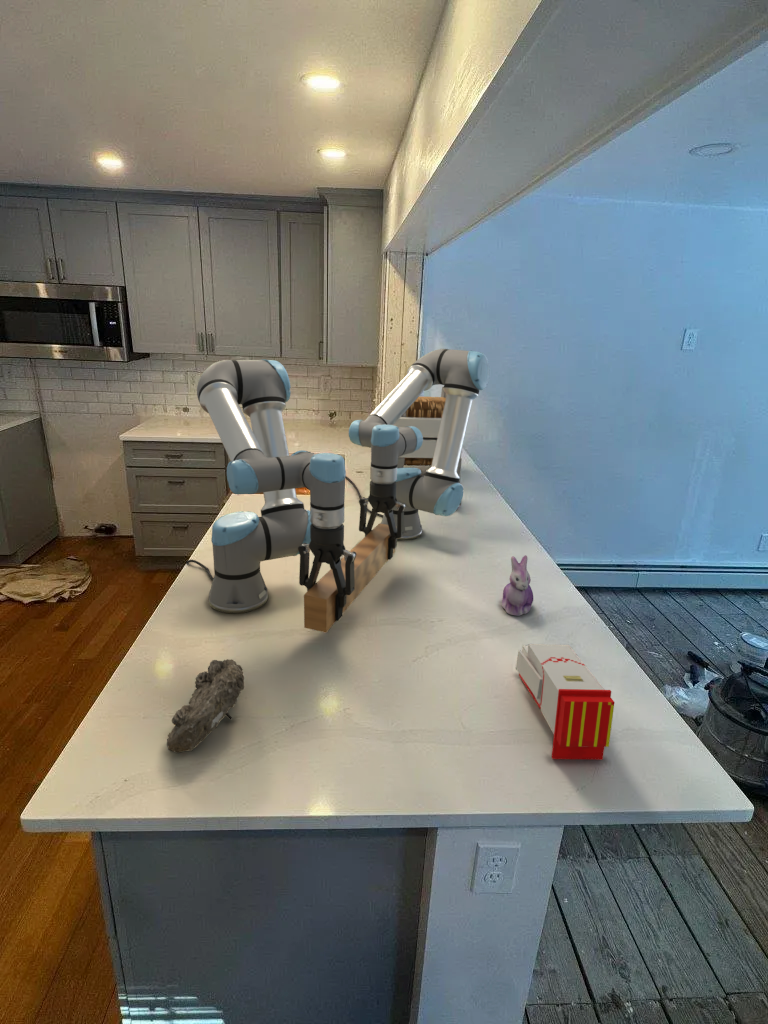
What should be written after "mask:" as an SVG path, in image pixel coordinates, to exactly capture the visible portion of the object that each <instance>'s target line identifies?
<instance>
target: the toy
mask: <svg viewBox="0 0 768 1024" xmlns="http://www.w3.org/2000/svg"><path fill="white" fill-rule="evenodd" d="M521 649H522V650H520V649H518V651H517V658H516V664H515V670H516V671H517V672H518V677H519V678H520V680H521V681H522V683H523V685H524V686H525V688H526V689H527V691H528V692H529V694H530V695H531V698H533V700H534V702H535V703H536V705H537V707H538V708H539V709H540V712H541V714H542V716H543V718H544V719H545V721H546V723H547V725H548V727H549V728H550V730H551V732H552V735H553V738H552V739H553V741H552V750H551V759H552V760H597V761H598V760H604V754H605V753H604V752H605V748H609V747H610V742H611V734H612V726H613V725H612V724H613V718H614V710H615V701H614V700H613V698H612V690H611V689H605V688H604V687H603V686H602V684H601V683H600V682H599V681H598V679H597V678H596V677H595V676H594V674H593V673H592V672H591V670H590V669H589V668H588V667H587V665H586V664H585V663H584V662H583V660H582V659H581V658H580V657H579V656H578V654H577V653H576V652H575V650H574V649H573V648H572V647H571V646H570V644H548V643H547V644H545V643H544V644H543V643H541V644H540V643H528V644H522V648H521Z"/></svg>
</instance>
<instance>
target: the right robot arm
mask: <svg viewBox="0 0 768 1024" xmlns="http://www.w3.org/2000/svg"><path fill="white" fill-rule="evenodd" d="M490 369H491V368H490V363H489V360H488V357H487V356H486V354H485V353H483V352H479V351H473V350H464V349H450V348H449V349H448V348H439V349H435V350H432V351H430V352H427V353H426V354H424V355H423V356H421V357H420V358H418V359H416V360H415V361H414V362H413V363H412V364H411V365H410V366H409V367H408V369H407V371H406V375H405V376H404V378H402V380H401V381H399V382H398V384H397V385H396V386H395V387H394V388H393V389H392V390H391V391H390V393H388V394H387V396H386V397H384V399H383V400H382V401H381V402H380V403H379V404H378V406H376V408H375V409H374V410H373V411H372V412H371V413H370V414H369V415H368V416H367V418H365V419H356V420H353V421H352V422H351V424H350V425H349V429H348V439H349V440H350V442H351V443H352V444H354V445H357V446H360V447H364V448H370V469H369V470H370V473H369V480H370V481H369V495H368V497H365V496H364V497H362V495H361V493H360V490H359V488H358V487H357V485H356V484H355V483H354V481H352V480H351V479H350V478H349V477H348V476H346V477H345V480H348V481H349V482H350V483H351V484H352V486H353V487H354V489H355V490H356V493H357V494H358V497H359V500H358V503H359V507H360V508H359V509H360V510H359V523H358V531H359V532H360V533H361V532H362V533H364V537H365V536H366V535H368V534H369V533H370V532H371V531H372V530H373V528H374V524H375V521H376V518H377V516H379V517H382V519H381V522H379V523H380V524H386V525H388V526H389V531H390V535H391V537H390V538H389V539H388V561H390V560H391V559H392V558H394V554H393V549H395V550H396V548H397V544H398V541H410V540H415V539H418V538H420V537H421V536H422V535H423V525H422V524H421V518H420V515H419V511H422V512H425V513H429V514H433V515H435V516H441V517H450V516H452V515H453V514H454V513H456V511H457V510H458V509H459V507H460V506H461V505H460V503H461V504H462V502H463V501H462V500H463V497H464V486H463V484H461V482H459V480H460V481H461V476H460V477H459V476H458V474H457V467H458V463H459V458H460V454H461V455H462V453H461V449H462V450H463V445H464V439H465V436H466V431H467V426H468V422H469V418H470V414H471V409H472V404H473V401H474V400H475V399H477V397H479V394H480V391H484V390H485V389H486V388H487V386H488V384H489V380H490V371H491V370H490ZM436 385H441V386H443V387H444V388H443V390H444V391H445V393H446V395H447V396H446V401H445V405H444V410H443V414H442V419H441V424H440V428H439V433H438V437H437V442H436V447H435V451H434V456H433V460H432V465H430V466H429V468H427V469H426V470H425V471H424V475H422V470H421V469H420V468H418V467H404V468H398V469H397V463H398V457H399V456H402V455H405V454H409V453H413V452H414V451H416V450H418V449H419V448H420V447H421V446H422V443H423V436H422V433H421V431H420V430H419V429H418V428H416V427H413V426H410V427H409V426H407V427H405V428H402V427H397V426H394V424H395V423H396V422H397V420H398V419H399V418H400V417H401V416H402V415H403V414H404V413H405V411H406V410H407V409H408V408H409V407H410V406H411V405H412V403H413V402H414V401H415V400H416V399H417V398H418V397H421V394H422V393H423V392H425V391H428V390H430V389H431V388H432V387H433V386H436ZM368 505H370V506H371V510H370V509H369V508H368ZM459 505H460V506H459ZM368 513H370V515H369V518H368V521H367V516H368V515H367V514H368ZM381 513H382V514H381ZM396 526H397V527H396Z"/></svg>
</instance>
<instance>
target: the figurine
mask: <svg viewBox="0 0 768 1024" xmlns="http://www.w3.org/2000/svg"><path fill="white" fill-rule="evenodd" d="M528 559H529V558H528V555H523V556H522V558H521V560H520V562H519V561H518V560H517V558H516V557H515V556H514V555H512V556H511V558H510V561H511V573H510V575H509V579H508V580H509V582H508V583H507V584H505V586H504V587H503V590H502V598H501V607H502V608H503V610H505V612H506V613H507V614H508V615H512V616H515V617H516V616H518V617H519V616H522V615H526V614H528V613H529V612H530V611H531V608H532V605H533V603H534V592H533V589H532V587H531V585H530V584H531V575H530V573H529V571H528V568H527V566H528Z"/></svg>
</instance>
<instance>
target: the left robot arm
mask: <svg viewBox="0 0 768 1024" xmlns="http://www.w3.org/2000/svg"><path fill="white" fill-rule="evenodd" d="M196 386H197V387H196V396H197V400H198V402H199V405H200V407H201V409H202V410H203V411H204V412H206V413H207V414H209V416H210V417H209V418H210V419H211V421H212V424H213V426H214V428H215V430H216V432H217V434H218V436H219V439H220V441H221V443H222V446H223V448H224V450H225V452H226V454H227V457H228V459H229V462H228V463H227V467H226V479H227V484H228V487H229V490H230V491H231V492H232V494H234V495H238V496H239V495H254V494H261V493H262V494H263V498H264V505H263V506H262V507H261V508H260V515H261V516H258V514H257V513H256V512H253V511H249V510H246V511H243V510H241V511H239V510H238V511H233V512H229V513H226V514H224V515H222V516H220V517H218V518H217V519H216V520H214V522H213V524H212V526H211V540H210V541H211V543H212V557H213V572H214V575H212V574H211V571H210V569H209V568H208V567H207V566H206V565H204V564H203V563H201V562H200V561H197V560H196V559H187V560H186V561H185V564H190V563H194V564H196V565H198V566H199V567H201V568H202V569H204V570H205V571H206V573H207V576H208V578H210V580H211V581H212V583H211V587H210V590H209V592H208V603H209V606H210V607H211V608H212V609H213V610H215V611H217V612H221V613H226V614H244V613H249V612H252V611H256V610H257V609H260V608H261V607H263V606H264V605H266V603H267V602H268V600H269V591H268V587H267V585H266V581H265V579H264V577H263V575H262V572H261V562H266V561H272V560H277V559H283V558H288V557H295V556H298V555H299V575H298V576H299V577H298V584H299V586H301V587H302V586H304V587H305V588H306V592H307V591H309V590H310V589H311V588H312V587H313V586H314V585H315V584H316V583H317V580H318V577H319V574H320V571H321V568H322V565H323V564H324V563H325V564H327V565H329V568H330V570H331V569H332V571H333V575H334V579H335V583H336V586H337V590H338V593H337V595H336V596H335V621H336V622H339V621H340V620H341V619H342V617H343V615H344V613H343V608H344V606H345V605H346V598H347V595H350V594H351V593H352V592H353V591H354V590H355V577H354V560H355V558H356V552H352V553H351V552H350V550H347V549H346V547H345V544H344V541H345V525H344V523H345V500H346V499H345V497H346V494H345V493H346V478H345V477H347V471H346V461H345V458H344V456H342V455H340V454H338V453H333V452H320V453H314V452H311V451H308V450H304V449H303V450H302V449H301V450H296V451H295V452H293V453H292V454H290V452H289V447H288V440H287V436H286V431H285V424H284V419H283V412H284V411H285V409H286V408H287V404H286V403H287V402H289V401H290V398H291V393H292V391H291V380H290V377H289V374H288V372H287V369H286V367H285V366H284V365H283V364H282V363H281V362H280V361H278V360H274V359H265V358H261V359H222V360H219V361H216V362H213V363H212V364H210V365H209V366H208V367H206V369H205V370H204V371H203V372H202V374H201V375H200V377H199V379H198V382H197V385H196ZM240 405H241V406H240ZM245 415H246V416H248V417H249V419H250V424H249V422H248V420H247V418H246V416H245ZM250 425H251V426H250ZM301 488H302V489H303V488H305V489H307V490H308V491H309V506H310V508H309V509H310V510H309V509H306V508H305V503H304V502H303V501H302V500H300V499H299V498H298V496H297V491H296V489H301ZM311 553H312V555H313V556H314V557H313V561H312V565H311V569H310V554H311ZM342 556H343V557H344V560H345V561H346V563H345V578H344V575H343V571H342V567H341V559H342V558H341V557H342ZM345 580H346V582H345Z"/></svg>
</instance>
